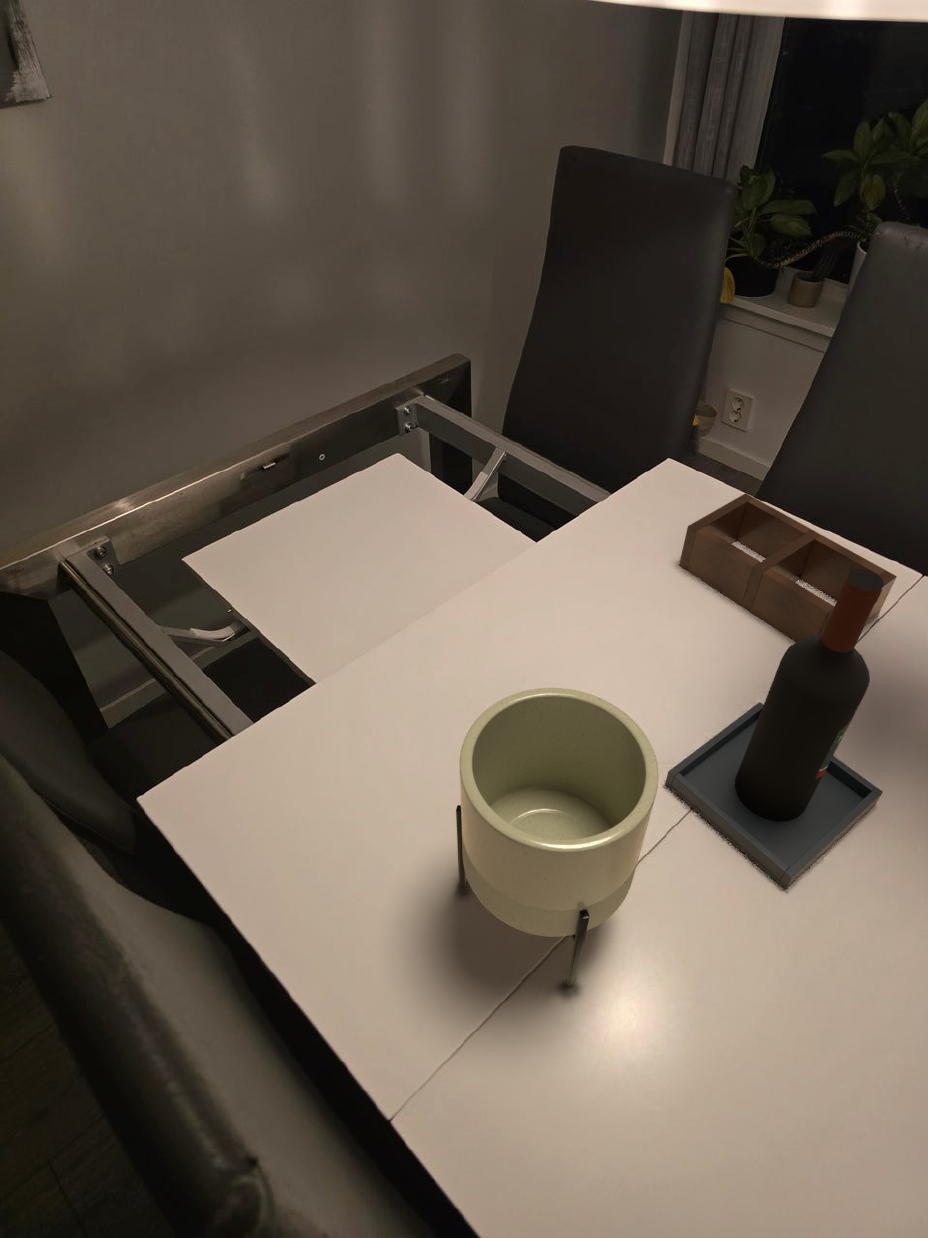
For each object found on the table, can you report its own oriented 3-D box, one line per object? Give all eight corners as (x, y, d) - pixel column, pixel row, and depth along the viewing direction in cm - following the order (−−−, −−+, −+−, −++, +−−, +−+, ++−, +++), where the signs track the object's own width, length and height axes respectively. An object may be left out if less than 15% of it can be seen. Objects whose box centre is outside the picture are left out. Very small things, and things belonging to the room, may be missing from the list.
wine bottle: (731, 758, 87) (808, 547, 66) (801, 765, 86) (902, 553, 66) (738, 817, 82) (825, 607, 61) (814, 825, 81) (928, 615, 60)
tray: (875, 804, 83) (883, 791, 82) (785, 889, 77) (792, 877, 75) (754, 714, 92) (759, 701, 91) (664, 784, 86) (668, 771, 84)
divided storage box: (877, 616, 104) (897, 576, 99) (821, 658, 99) (839, 618, 94) (734, 531, 117) (745, 492, 113) (678, 565, 112) (687, 525, 107)
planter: (656, 895, 76) (703, 754, 60) (551, 1018, 68) (573, 893, 52) (538, 801, 84) (551, 655, 68) (431, 902, 76) (418, 763, 60)
